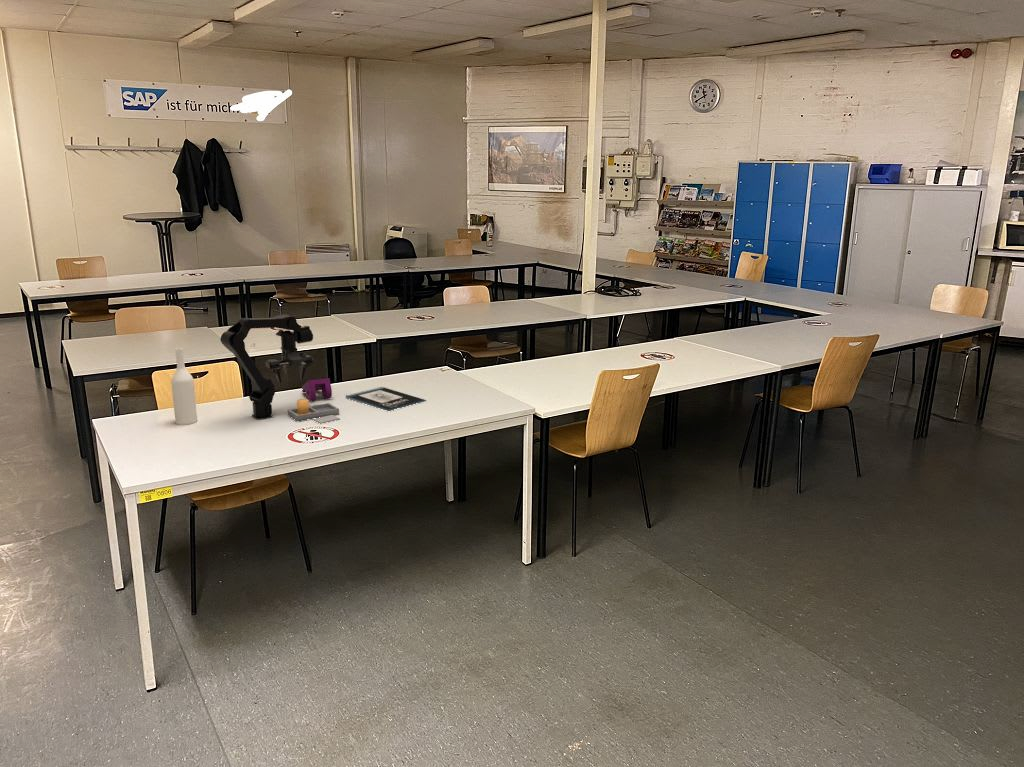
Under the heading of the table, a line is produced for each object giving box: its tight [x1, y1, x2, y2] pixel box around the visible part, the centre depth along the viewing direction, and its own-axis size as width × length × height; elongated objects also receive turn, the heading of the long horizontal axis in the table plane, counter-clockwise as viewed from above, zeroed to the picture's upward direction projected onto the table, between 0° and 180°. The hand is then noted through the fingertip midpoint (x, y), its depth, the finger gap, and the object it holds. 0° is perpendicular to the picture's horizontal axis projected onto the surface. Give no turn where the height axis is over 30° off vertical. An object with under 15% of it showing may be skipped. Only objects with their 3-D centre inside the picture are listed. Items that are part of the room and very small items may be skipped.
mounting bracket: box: [301, 377, 333, 402], centre depth 341 cm, size 9×8×18 cm
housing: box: [287, 402, 340, 422], centre depth 314 cm, size 18×10×2 cm, turn 127°
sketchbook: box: [345, 386, 427, 412], centre depth 338 cm, size 22×30×2 cm
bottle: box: [170, 347, 198, 426], centre depth 300 cm, size 8×8×30 cm
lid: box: [312, 415, 341, 425], centre depth 309 cm, size 9×6×1 cm, turn 135°
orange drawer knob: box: [296, 398, 310, 415], centre depth 311 cm, size 5×5×6 cm
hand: (290, 381), depth 319 cm, fingers open, 9 cm apart
